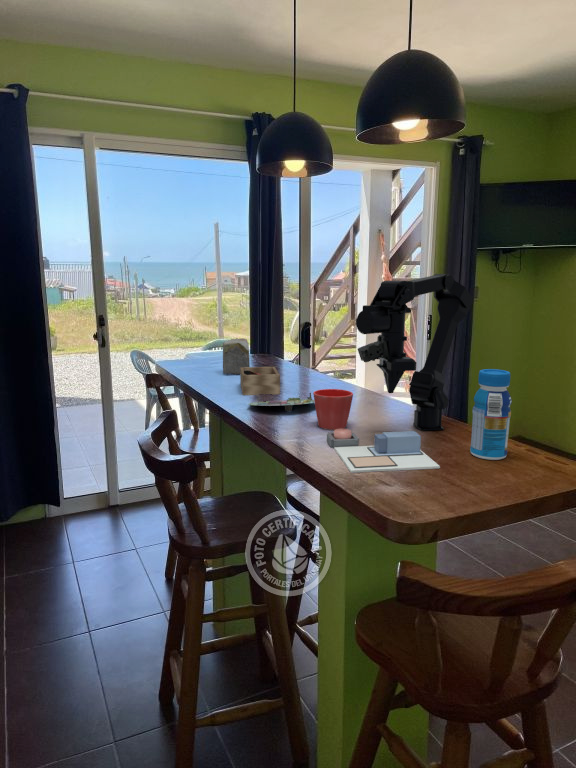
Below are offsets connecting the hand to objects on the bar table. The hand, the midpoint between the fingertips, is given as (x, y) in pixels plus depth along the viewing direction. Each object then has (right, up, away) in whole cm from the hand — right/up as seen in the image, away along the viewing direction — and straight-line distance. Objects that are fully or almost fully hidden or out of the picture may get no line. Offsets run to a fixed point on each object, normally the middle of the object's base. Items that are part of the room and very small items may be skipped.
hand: (390, 392), depth 138 cm
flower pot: (-14, -10, +13) cm, 22 cm away
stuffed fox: (-39, 0, +60) cm, 71 cm away
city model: (-27, -6, +36) cm, 45 cm away
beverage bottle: (+21, -15, -10) cm, 28 cm away
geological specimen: (-48, +6, +92) cm, 104 cm away
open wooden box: (-37, 0, +61) cm, 71 cm away
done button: (-12, -13, -2) cm, 18 cm away
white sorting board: (-4, -15, -13) cm, 20 cm away
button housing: (-12, -13, -2) cm, 18 cm away
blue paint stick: (0, -14, -10) cm, 17 cm away
